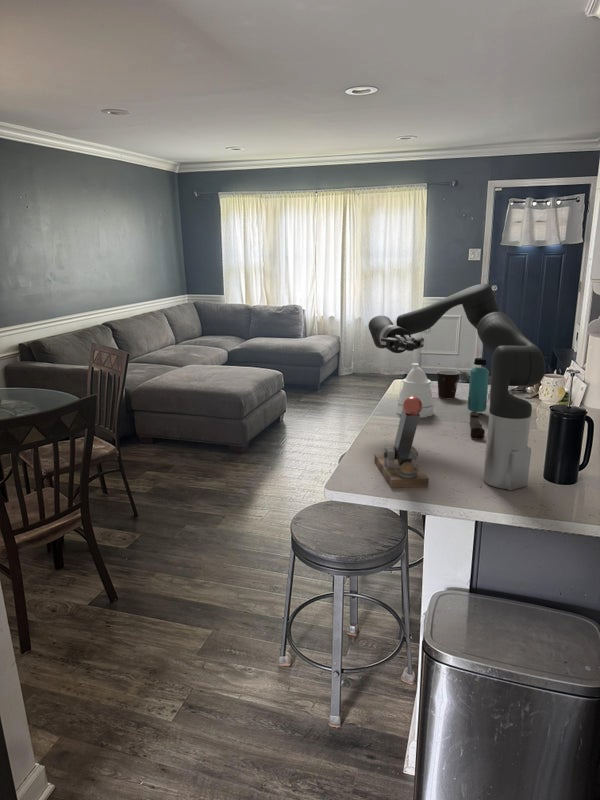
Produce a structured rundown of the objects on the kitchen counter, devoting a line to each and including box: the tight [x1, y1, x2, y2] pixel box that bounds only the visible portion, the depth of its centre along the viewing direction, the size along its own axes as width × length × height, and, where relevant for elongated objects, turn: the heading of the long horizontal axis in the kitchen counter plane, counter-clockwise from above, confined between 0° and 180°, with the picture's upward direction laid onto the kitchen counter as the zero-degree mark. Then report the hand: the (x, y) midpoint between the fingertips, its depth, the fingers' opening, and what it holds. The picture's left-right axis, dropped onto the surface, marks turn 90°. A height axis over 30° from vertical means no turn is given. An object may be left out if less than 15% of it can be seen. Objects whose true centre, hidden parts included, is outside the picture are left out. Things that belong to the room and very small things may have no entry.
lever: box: [392, 397, 422, 465], centre depth 129 cm, size 6×4×20 cm
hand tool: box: [469, 411, 486, 440], centre depth 173 cm, size 19×4×5 cm, turn 164°
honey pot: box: [396, 362, 435, 418], centre depth 192 cm, size 13×13×18 cm
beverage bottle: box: [467, 357, 490, 413], centre depth 190 cm, size 6×7×20 cm
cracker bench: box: [373, 445, 430, 489], centre depth 136 cm, size 18×9×6 cm, turn 5°
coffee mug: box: [436, 369, 460, 399], centre depth 215 cm, size 12×9×10 cm
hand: (411, 347), depth 144 cm, fingers closed
